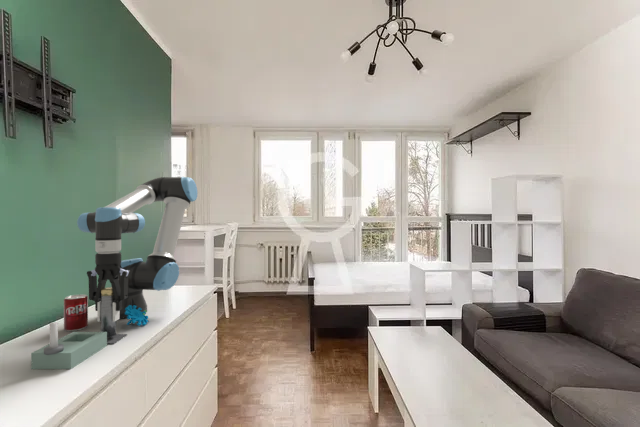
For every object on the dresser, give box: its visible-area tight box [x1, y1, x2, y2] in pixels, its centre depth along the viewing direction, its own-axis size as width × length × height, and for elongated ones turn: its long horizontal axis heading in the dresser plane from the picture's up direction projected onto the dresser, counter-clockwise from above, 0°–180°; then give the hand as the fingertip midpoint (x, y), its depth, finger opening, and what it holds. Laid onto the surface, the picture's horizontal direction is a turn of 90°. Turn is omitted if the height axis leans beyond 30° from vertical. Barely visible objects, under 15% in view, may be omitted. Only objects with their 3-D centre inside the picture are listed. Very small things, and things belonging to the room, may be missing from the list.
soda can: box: [63, 293, 89, 332], centre depth 124 cm, size 7×7×12 cm
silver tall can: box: [100, 286, 117, 337], centre depth 113 cm, size 4×4×16 cm
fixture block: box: [30, 321, 108, 370], centre depth 100 cm, size 17×11×12 cm, turn 1°
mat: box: [107, 333, 128, 345], centre depth 113 cm, size 8×8×1 cm
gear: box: [125, 305, 149, 327], centre depth 129 cm, size 11×6×10 cm
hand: (108, 320), depth 113 cm, fingers closed on silver tall can, 4 cm apart
